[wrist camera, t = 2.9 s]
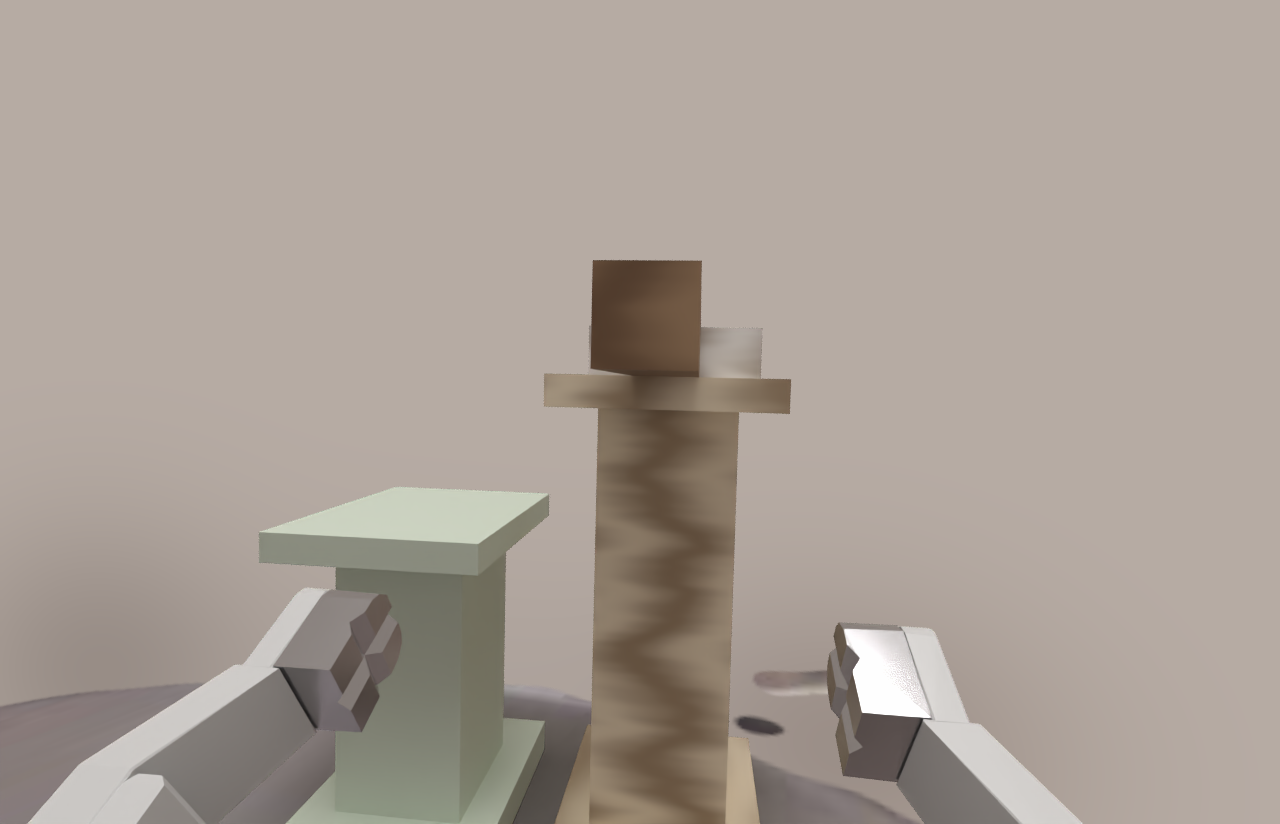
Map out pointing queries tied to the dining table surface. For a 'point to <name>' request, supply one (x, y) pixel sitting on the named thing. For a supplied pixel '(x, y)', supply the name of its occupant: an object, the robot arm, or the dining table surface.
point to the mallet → (662, 325)
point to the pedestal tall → (663, 600)
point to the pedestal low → (426, 655)
